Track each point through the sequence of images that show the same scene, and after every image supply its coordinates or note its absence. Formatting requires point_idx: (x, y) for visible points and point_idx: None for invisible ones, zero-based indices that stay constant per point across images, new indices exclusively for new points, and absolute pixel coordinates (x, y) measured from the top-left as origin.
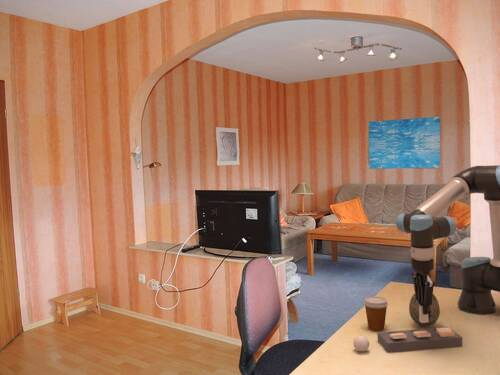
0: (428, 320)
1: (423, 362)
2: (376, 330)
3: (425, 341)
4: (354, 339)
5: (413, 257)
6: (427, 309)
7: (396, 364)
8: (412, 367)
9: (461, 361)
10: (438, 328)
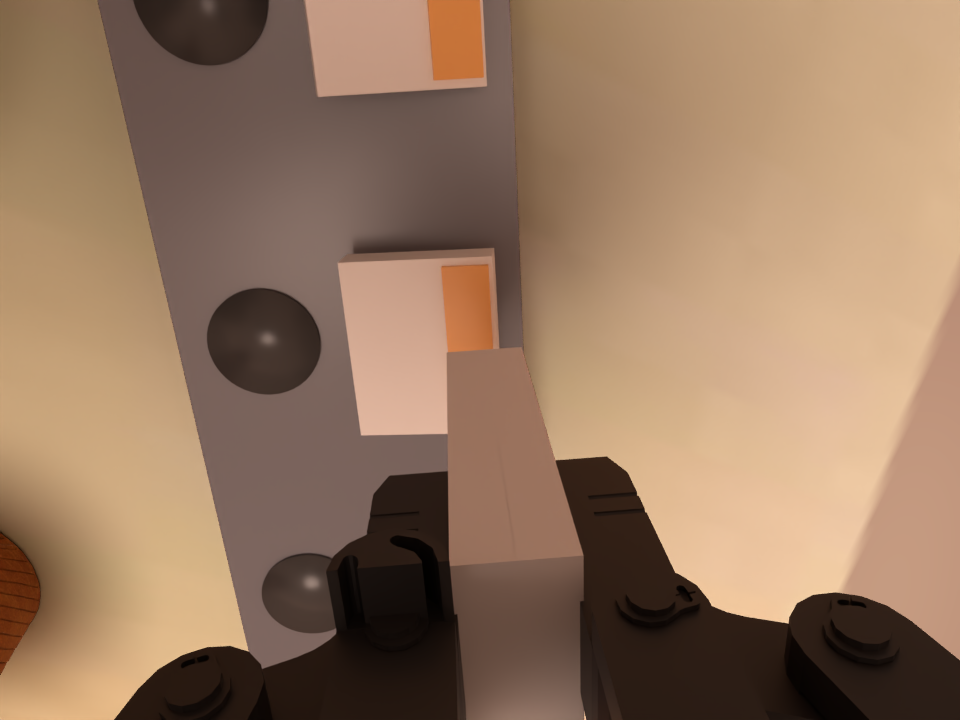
0: (524, 359)
1: (760, 408)
2: (37, 605)
3: (521, 317)
4: None
5: None
6: (654, 541)
7: (736, 612)
8: (816, 520)
9: (845, 28)
10: (322, 56)
